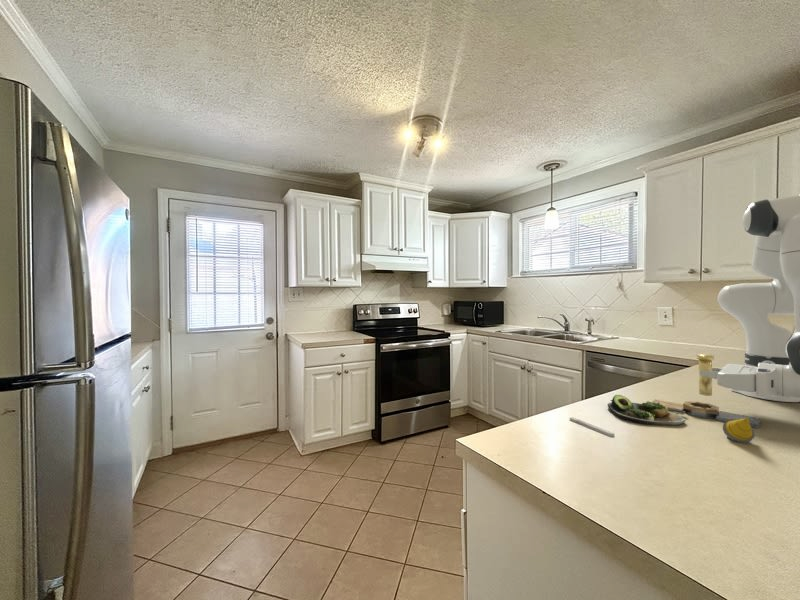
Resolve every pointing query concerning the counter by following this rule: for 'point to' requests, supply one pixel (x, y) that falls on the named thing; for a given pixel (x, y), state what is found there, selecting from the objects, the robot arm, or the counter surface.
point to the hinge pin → (704, 381)
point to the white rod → (592, 427)
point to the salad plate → (644, 412)
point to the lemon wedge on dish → (738, 430)
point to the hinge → (707, 411)
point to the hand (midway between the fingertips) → (701, 371)
